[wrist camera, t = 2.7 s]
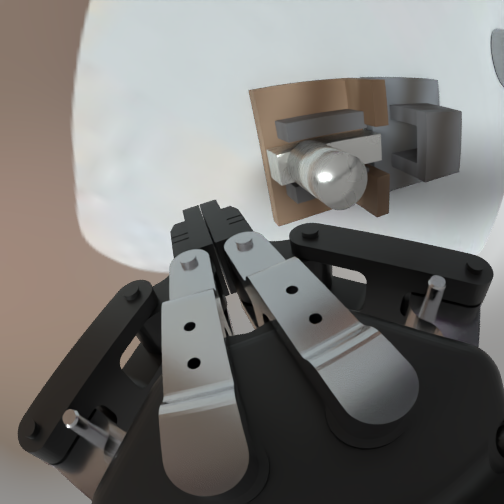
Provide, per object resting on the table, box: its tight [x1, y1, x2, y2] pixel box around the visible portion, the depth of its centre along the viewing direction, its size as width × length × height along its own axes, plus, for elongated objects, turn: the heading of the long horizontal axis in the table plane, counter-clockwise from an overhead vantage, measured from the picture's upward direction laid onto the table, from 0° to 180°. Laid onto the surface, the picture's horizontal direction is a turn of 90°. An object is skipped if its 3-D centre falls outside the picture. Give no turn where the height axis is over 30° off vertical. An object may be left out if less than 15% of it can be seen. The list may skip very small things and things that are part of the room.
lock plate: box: [249, 77, 462, 226], centre depth 18 cm, size 18×10×5 cm, turn 101°
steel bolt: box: [266, 129, 382, 210], centre depth 16 cm, size 8×3×6 cm, turn 101°
